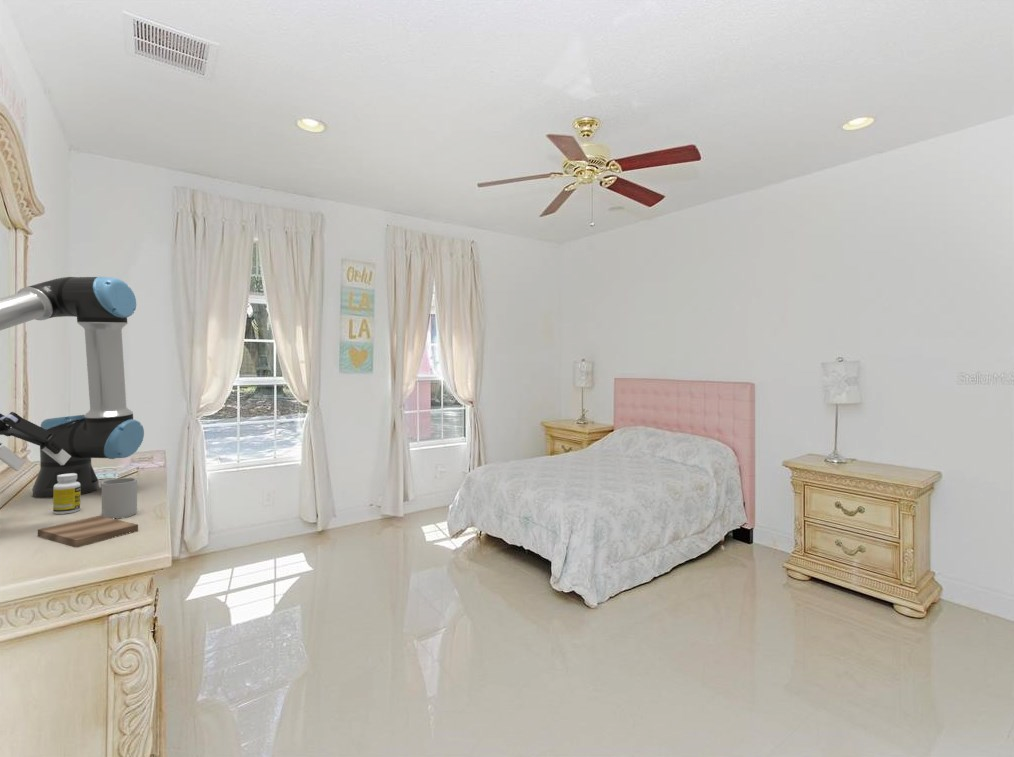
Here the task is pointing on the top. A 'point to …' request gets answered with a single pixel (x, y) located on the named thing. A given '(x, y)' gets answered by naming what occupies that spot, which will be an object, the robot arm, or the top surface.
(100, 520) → the walnut board
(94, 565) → the top surface
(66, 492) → the supplement bottle
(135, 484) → the cup
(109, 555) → the top surface
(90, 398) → the robot arm
